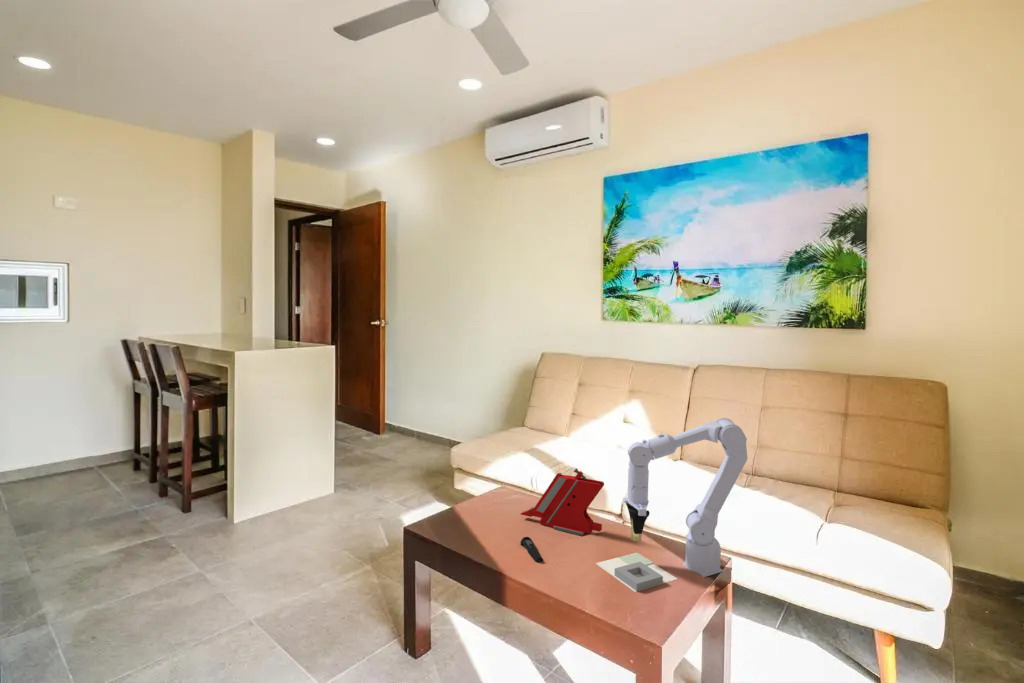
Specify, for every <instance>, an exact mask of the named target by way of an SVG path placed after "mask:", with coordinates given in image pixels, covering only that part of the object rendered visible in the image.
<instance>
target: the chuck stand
mask: <svg viewBox="0 0 1024 683" xmlns="http://www.w3.org/2000/svg"><path fill="white" fill-rule="evenodd" d="M595 564H596V566H598V567H600V568H601V569H603V570H604V571H605V572H607V573H608V574H609V575H611V576H612V577H614V578H615V579H616V580H618V581H619V582H620V583H622V584H623V585H625V586H626V587H628V589H630V590H631V591H633V592H634V593H635V592H640V591H643V590H647V589H650V588H653V587H656V586H659V585H662V584H666V583H669V582H672V581H675V580H678V578H677V577H676V576H674V575H672V574H671V573H669V572H668V571H666V570H664V569H663V568H661V567H659V566H658V565H657V564H655V563H654V562H653V561H652V560H650V559H648V558H647V557H645V556H643V555H642V554H640V553H638V552H634V553H630V554H626V555H625V554H624V555H622V556H618V557H615V558H614V557H613V558H611V559H607V560H603V561H599V562H595Z"/></svg>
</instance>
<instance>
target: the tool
mask: <svg viewBox="0 0 1024 683" xmlns="http://www.w3.org/2000/svg"><path fill="white" fill-rule="evenodd" d="M578 469H579V468H577V467H576V468H575V469H574V470H573V473H575V474H576V475H575V476H574V475H567V474H563V473H562V472H558V473H556V474H555V476H554V478H553V479H552V480H551V482H550V484H549V485H548V487H547V488H546V490H545V491H544V493H543V494H542V495H541V497H540V499H539V500H538V502H537V503H536V505H535V506H534V507H530V508H529V509H528V510H525V511H522V512H521V513H520V516H521V515H522V516H525V517H530V518H531V517H536V518H540V520H539V521H538V523H539V524H540V525H542V526H547V527H550V528H553V530H556V531H560V532H563V533H568V534H573V535H576V536H577V535H578V536H580V537H585V535H586V534H591V533H592V531H594V532H595V531H596V532H599V533H600V532H601V531H602V530H603V523H598V522H595V521H594V520H593V519H592V518H591V516H590V515H589V514H588V508H589V507H590V505H591V504H592V503H593V501H594V500H595V498H596V497H597V495H598V494H599V493H600V491H601V490H602V488H603V487H604V486H605V483H604V481H602V480H598V479H597V480H596V479H592V478H587V477H586V476H585V475H584V472H582V471H581V470H578Z"/></svg>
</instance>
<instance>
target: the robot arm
mask: <svg viewBox="0 0 1024 683" xmlns="http://www.w3.org/2000/svg"><path fill="white" fill-rule="evenodd" d="M747 438H748V437H746V434H745V433H744V431H743V428H741V427H740V426H739V425H737V424H736V423H734V422H733V420H732V419H730V418H726V417H721V418H719V419H717V420H710V421H708V422H705V423H702V424H701V425H698V426H695V427H693V428H690V429H687V430H685V431H682V432H679V433H677V434H674V435H670V434H668V433H665V434H663V432H661V433H658V434H657V436H656V437H653V438H650V439H648V440H646V439H642V440H641V442H639V441H636V442H633V443H632V444H631V445H630V446H629V448H628V449H627V454H628V457H629V461H628V466H629V467H628V470H627V472H628V473H627V497H625V498H622V500H623V501H622V502H623V503H625V505H626V507H627V511H628V513H629V514H628V515H629V519H630V522H631V519H632V522H633V530H634V534H643V532H644V528H645V525H646V524H645V523H646V521H647V519H648V517H649V516H650V514H651V513H650V511H649V510H647V507H648V505H649V477H650V476H649V473H650V472H649V463H650V462H651V461H654V460H658V459H660V458H664V457H666V456H670V455H673V454H675V452H676V450H677V448H680V447H683V446H686V445H691V444H694V443H697V442H700V441H705V440H706V441H709V442H712V443H716V444H718V443H719V442H720V443H721V445H722V448H723V450H724V452H725V457H724V459H723V461H722V463H721V464H720V467H719V469H718V470H717V472H716V474H715V475H714V478H713V480H712V482H711V483H710V486H709V487H708V490H706V493H705V495H704V497H703V499H702V500H701V502H700V503H698V504H697V505H695V507H694V509H693V510H692V511H690V512H689V513H688V514H687V515H686V518H685V524H686V526H687V528H688V532H687V534H686V535H685V557H684V558H685V559H684V560H685V561H684V562H683V563H681V565H683V566H685V568H687V570H688V571H689V570H690V571H691V572H694V573H697V574H699V575H701V576H702V577H703V578H706V577H708V576H709V577H710V576H713V575H715V574H719V573H723V569H722V568H721V558H722V557H721V556H722V554H721V553H722V552H721V551H722V549H721V544H720V542H719V541H718V539H717V538H716V536H715V535H716V534H715V532H716V528H717V525H718V521H719V520H718V519H719V513H720V511H721V510H722V508H723V506H724V504H725V502H726V501H727V498H729V495H730V493H731V491H732V489H733V488H734V485H735V484H736V482H737V479H738V478H739V476H740V474H741V473H742V471H743V468H744V466H745V465H746V463H747V461H748V451H747V450H748V448H747V440H748V439H747Z"/></svg>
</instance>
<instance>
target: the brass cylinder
mask: <svg viewBox="0 0 1024 683" xmlns="http://www.w3.org/2000/svg"><path fill="white" fill-rule="evenodd" d="M642 534H643V533H642ZM642 534H634V530H633V522H632V519H631V521H630V540H632V541H633V542H634V541H635V542H640V541H642Z"/></svg>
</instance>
